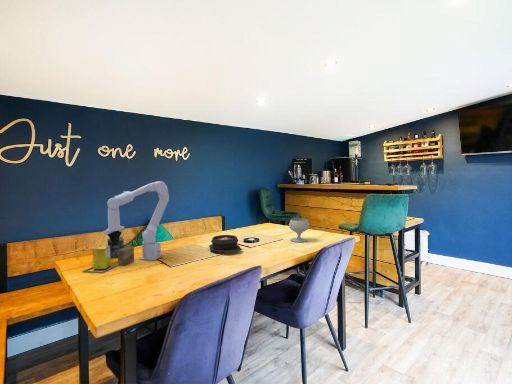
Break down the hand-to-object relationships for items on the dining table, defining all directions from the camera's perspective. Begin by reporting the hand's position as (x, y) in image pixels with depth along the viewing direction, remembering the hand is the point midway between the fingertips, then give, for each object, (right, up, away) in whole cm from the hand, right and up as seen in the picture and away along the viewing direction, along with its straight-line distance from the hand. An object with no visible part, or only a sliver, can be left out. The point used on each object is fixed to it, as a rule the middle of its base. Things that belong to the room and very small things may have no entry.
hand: (115, 245), depth 153 cm
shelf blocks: (0, -9, 0) cm, 9 cm away
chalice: (+106, -6, +49) cm, 117 cm away
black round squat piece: (+57, -8, +24) cm, 62 cm away
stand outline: (-2, -10, -10) cm, 14 cm away
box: (-5, -9, +12) cm, 16 cm away
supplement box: (-2, -10, -10) cm, 14 cm away
